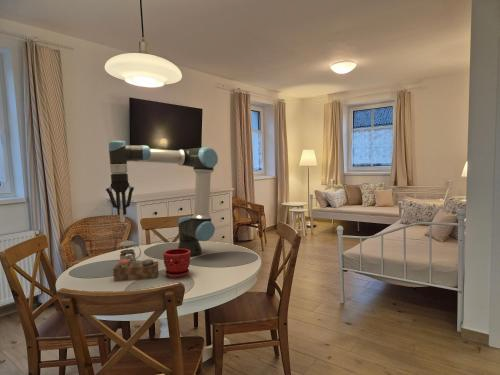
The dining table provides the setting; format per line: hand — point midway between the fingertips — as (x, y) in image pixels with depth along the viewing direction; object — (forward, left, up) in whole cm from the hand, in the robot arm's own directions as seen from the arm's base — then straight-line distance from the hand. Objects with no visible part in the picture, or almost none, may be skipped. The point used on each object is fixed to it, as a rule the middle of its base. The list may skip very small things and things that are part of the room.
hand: (122, 221), depth 155 cm
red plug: (0, 0, -26) cm, 26 cm away
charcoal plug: (-11, 0, -28) cm, 30 cm away
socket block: (-5, 0, -28) cm, 29 cm away
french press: (+1, -14, -28) cm, 32 cm away
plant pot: (-25, +2, -28) cm, 38 cm away
